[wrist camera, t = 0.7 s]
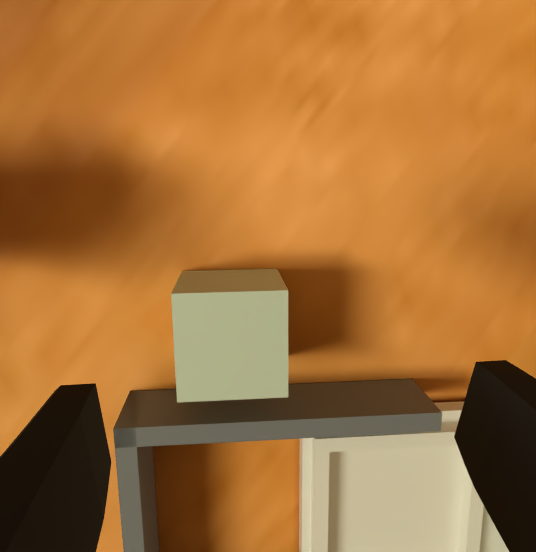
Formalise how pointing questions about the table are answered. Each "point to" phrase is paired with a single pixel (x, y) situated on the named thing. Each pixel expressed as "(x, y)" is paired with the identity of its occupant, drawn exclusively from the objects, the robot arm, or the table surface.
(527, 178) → the table surface
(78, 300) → the table surface
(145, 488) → the dock
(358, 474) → the tray
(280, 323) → the block
